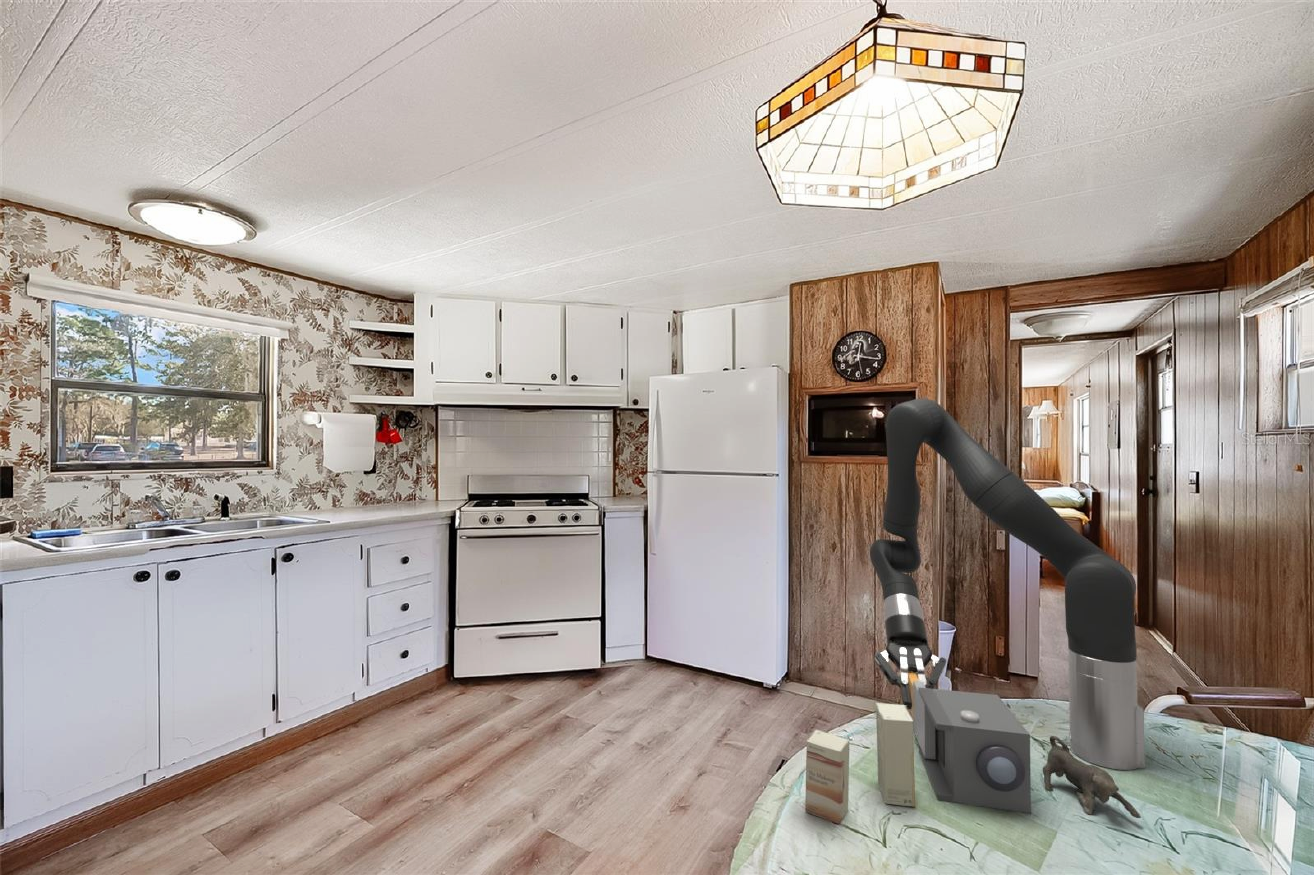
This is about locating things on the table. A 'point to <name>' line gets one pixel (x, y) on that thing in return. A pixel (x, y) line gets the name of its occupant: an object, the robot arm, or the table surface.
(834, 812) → the skincare box
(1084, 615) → the robot arm
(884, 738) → the skincare box
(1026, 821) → the table surface
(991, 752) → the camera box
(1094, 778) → the dog figurine
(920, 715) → the door
